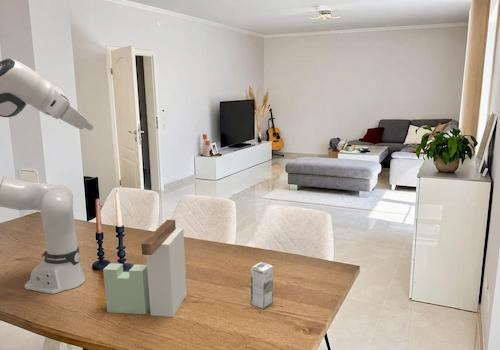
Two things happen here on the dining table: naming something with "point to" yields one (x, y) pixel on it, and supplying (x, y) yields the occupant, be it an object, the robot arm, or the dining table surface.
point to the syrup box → (262, 285)
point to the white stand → (167, 276)
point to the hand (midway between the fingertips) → (85, 123)
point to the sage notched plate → (126, 289)
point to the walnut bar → (158, 237)
